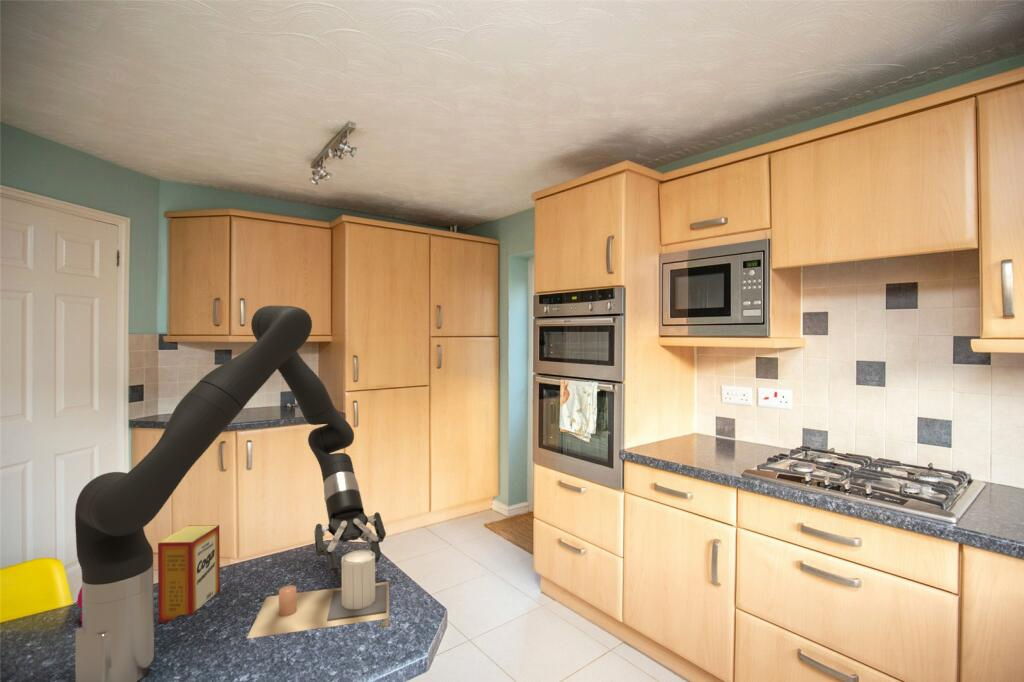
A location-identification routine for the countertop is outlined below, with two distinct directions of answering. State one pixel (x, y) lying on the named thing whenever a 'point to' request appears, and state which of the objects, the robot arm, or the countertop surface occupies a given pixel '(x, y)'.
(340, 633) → the countertop surface
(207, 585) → the red cream cardboard box
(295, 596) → the peach rounded knob
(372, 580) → the cover cup
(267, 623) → the board
